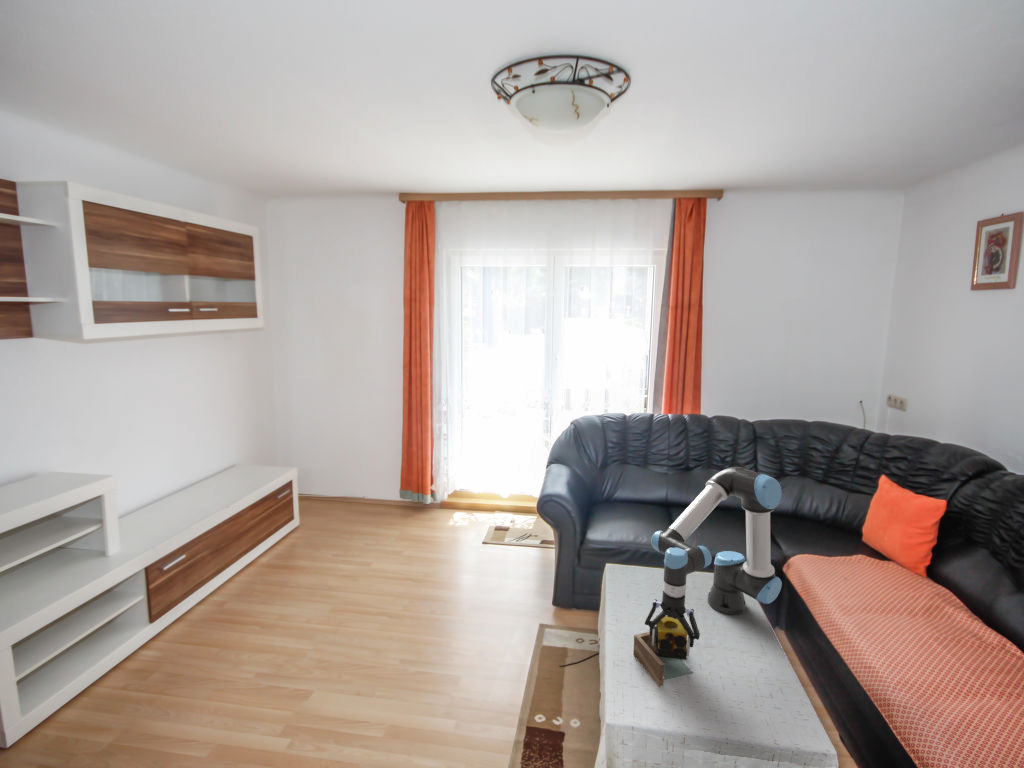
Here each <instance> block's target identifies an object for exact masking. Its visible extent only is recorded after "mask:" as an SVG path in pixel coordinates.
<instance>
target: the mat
mask: <svg viewBox="0 0 1024 768" xmlns="http://www.w3.org/2000/svg"><path fill="white" fill-rule="evenodd" d="M656 656H657V655H656ZM657 657H658V658H659V659H660V660H661V661H662V663H663V664H664V675H663V679H665V680H670V679H673V678H677V677H681V676H684V675H688V674H689V675H690V674H693V673H694V672H693V670H692V669H691V668H689V666H688V665H687V664H686V663H685V662H684V660H681V659H674V658H667V657H659V656H657Z"/></svg>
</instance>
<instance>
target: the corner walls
mask: <svg viewBox="0 0 1024 768" xmlns="http://www.w3.org/2000/svg"><path fill="white" fill-rule="evenodd" d="M632 653H633V656H634V657H635V659H636V660H637V661H638V663H640V665H641V666H642V667H643V668H644V670H645V671H646V672H647V673H648V675H649V676H650V677H651V678H652V680H653V681H654V682H655V683H656V684H657V686H658V687H663V686H664V677H663V675H664V664H663V663H662V661H661V660H660V659H659V658H658V657H657V649H656V642H655V644H654V646H652V636H651V635H650V631H647V632H642V633H637V634H634V636H633V652H632ZM655 653H656V654H655Z"/></svg>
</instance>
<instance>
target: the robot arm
mask: <svg viewBox="0 0 1024 768" xmlns="http://www.w3.org/2000/svg"><path fill="white" fill-rule="evenodd" d="M782 493H783V492H782V487H781V485H780V482H779V481H778V479H776V478H774V477H772V476H769V475H768V474H765V473H760V472H758V471H757V472H756V471H754V470H750V469H747V468H744V467H741V466H731V467H727V468H724V469H722V470H720V471H718V472H716V473H715V474H714V475H712V476H711V477H710V478H709V479H707V481H706V482H705V488H704V489H703V490H702V491H701V492H699V494H698V495H697V496H696V497H694V500H692V502H691V503H690V504H689V505H688V506H687V507H686V508H685V509H684V511H682V513H681V514H680V515H679V516H678V517H677V518H676V519H675V521H674V522H673V523H671V525H669V526H668V528H667V529H666V530H665V531H663V530H658V531H655V532H654V533H653V534H652V536H651V539H650V544H651V547H652V548H653V549H654V550H656V552H659V553H660V554H662V555H664V559H663V563H664V565H663V567H664V568H663V582H662V596H661V597H662V599H661V600H662V601H658V599H655V598H654V600H653V602H652V607H651V609H650V611H649V613H648V615H647V617H646V619H645V621H644V624H645V626H649V632H650V635H651V636H652V646H654V644H655V642H656V624H657V623H658V622H659V621H660V620H661V619H662V618H664V617H665V616H668V617H672V618H674V619H678V620H679V622H680V623H681V624H682V626H683V627H684V629H685V630H686V631H687V657H688V658H689V656H690V653H691V648H694V643H695V640H698V641H699V639H700V635H701V633H700V630H699V628H698V625H697V622H696V618H695V615H694V614H695V610H694V608H690V609H688V608H686V606H685V604H686V591H687V589H686V588H687V575H690V574H692V573H695V572H697V571H700V570H704V569H705V568H707V567H709V566H710V565H711V564H712V561H713V559H712V554H711V552H710V550H709V549H708V547H706V546H705V545H696V546H692V545H691V544H688V543H687V539H688V538H690V536H691V535H692V534H693V533H694V532H695V531H696V530H697V528H698V527H700V525H701V524H702V523H703V522H704V521H705V520H706V518H707V517H709V515H710V514H711V513H712V512H713V510H714V509H715V508H716V507H717V506H718V505H719V504H720V503H721V502H722V501H726V500H727V499H728V498H729V497H732V496H733V497H737V498H739V499H740V500H741V501H740V503H741V508H742V510H745V540H746V549H745V550H746V557H745V556H744V554H742V553H740V552H737V551H733V550H728V551H727V550H724V551H720V552H717V553H716V554H715V558H714V563H713V565H714V566H713V581H712V585H711V588H710V591H709V593H708V594H707V603H708V605H709V606H710V608H712V609H713V610H715V611H717V612H719V613H722V614H725V615H732V616H735V615H741V614H743V613H744V612H745V611H746V605H747V603H746V598H745V595H747V596H748V597H750V598H753V599H754V600H756V601H758V602H760V603H762V604H765V605H768V604H771V603H773V602H774V601H775V600H776V599H777V597H778V595H779V594H780V592H781V589H782V585H783V582H782V580H781V578H780V577H779V576H776V573H775V572H776V570H775V567H774V565H772V563H771V513H772V512H774V511H775V508H777V507H778V506H779V504H780V502H781V499H782ZM744 594H745V595H744ZM659 607H660V608H661V610H662V611H661V612H660V613H659V614H658V615H656V616H657V617H656V616H655V617H654V619H652V617H653V616H654V614H655V612H656V610H657V609H658V608H659ZM684 614H686V615H687V617H688V619H689V623H690V625H689V623H688V621H687V619H686V617H685V615H684Z"/></svg>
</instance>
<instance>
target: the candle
mask: <svg viewBox="0 0 1024 768" xmlns="http://www.w3.org/2000/svg"><path fill="white" fill-rule="evenodd" d="M657 616H658V615H656V616H655V618H656V617H657ZM687 639H688V634H687V631H686V630H685V629H684V627H683V626H682V624H681V623H680V622H679V620H678V619H674V618H672V617H668V616H667V615H666V616H665V617H664V618H662V619H661V620H660V621H659V622H658V623H657V624H656V649H657V652H656V656H659V657H667V658H674V659H681V660H682V661H686V660H688V658H687V657H688V656H687Z"/></svg>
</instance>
